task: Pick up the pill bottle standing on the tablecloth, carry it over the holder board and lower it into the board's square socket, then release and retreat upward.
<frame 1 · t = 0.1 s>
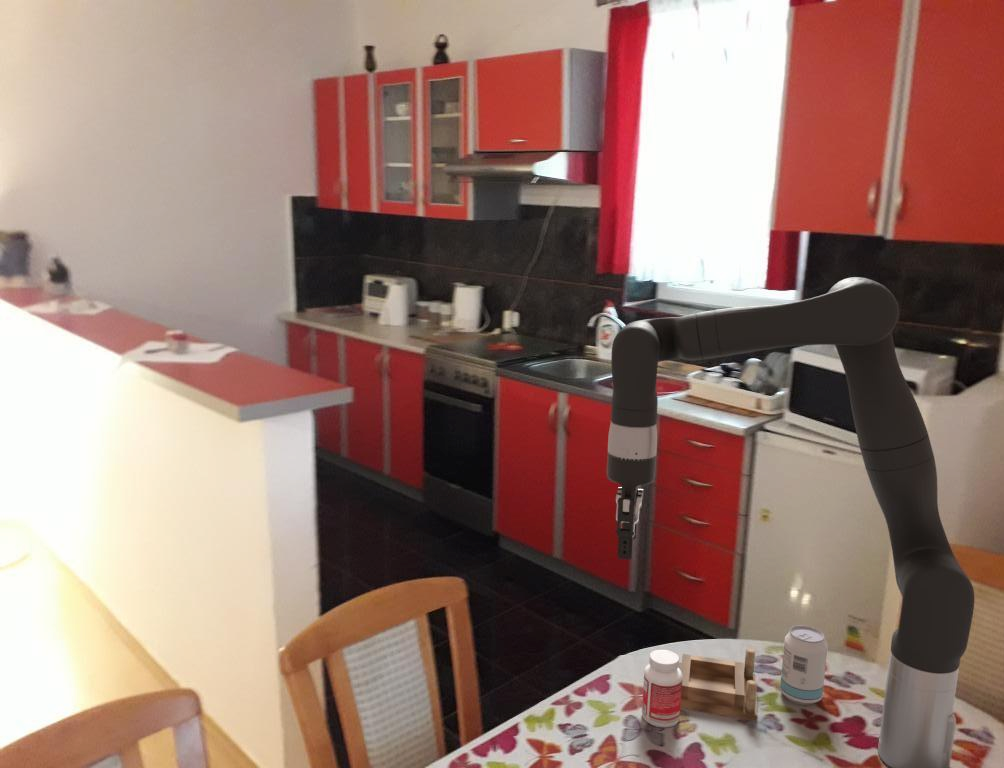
hand: (627, 547, 132), 29 cm above the table, fingers open, 8 cm apart
pill bottle: (660, 718, 136), on the table
beverage can: (800, 698, 143), on the table
holder: (710, 691, 144), on the table
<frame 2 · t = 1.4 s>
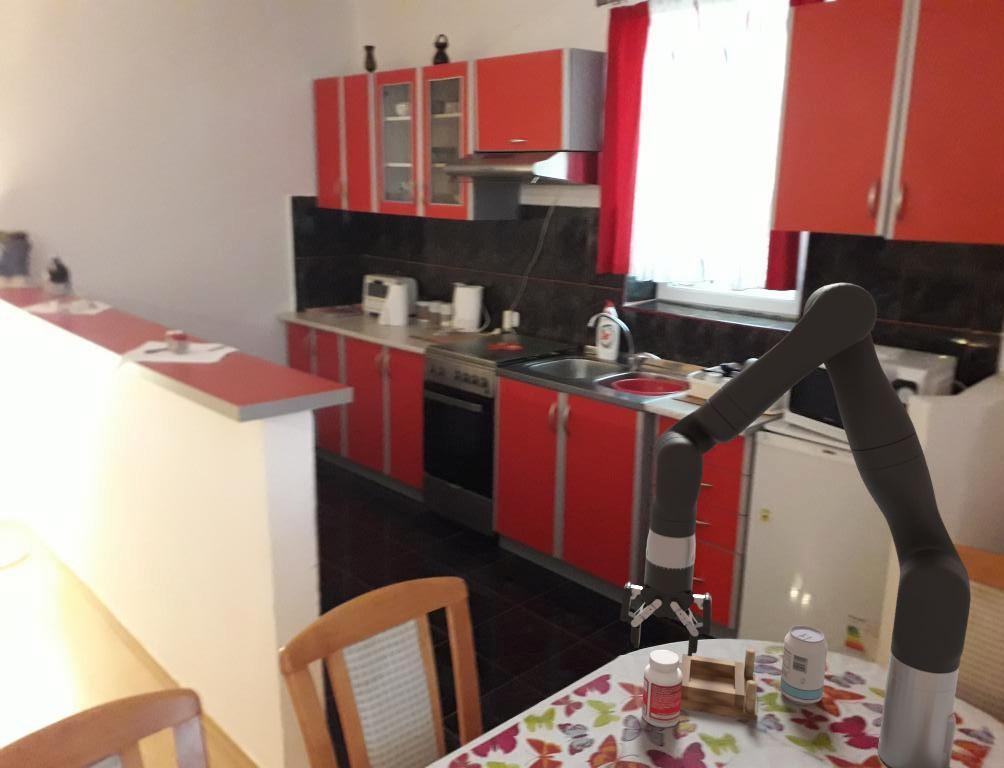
hand: (663, 649, 134), 12 cm above the table, fingers open, 8 cm apart
nothing on the table moved.
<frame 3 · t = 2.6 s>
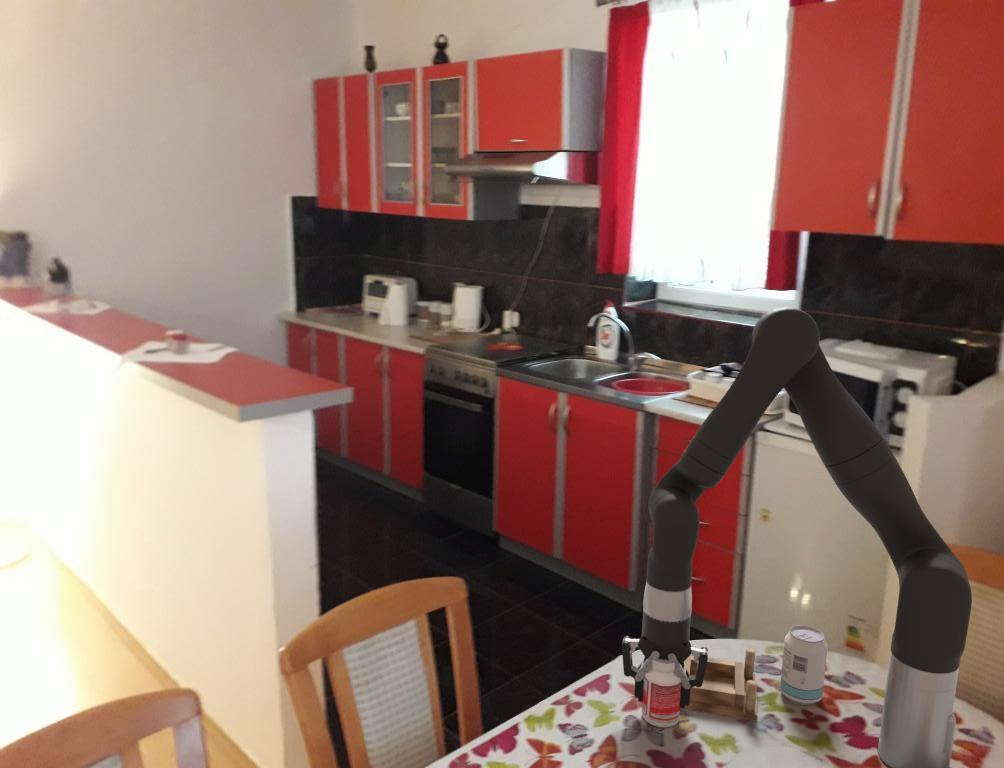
hand: (661, 702, 136), 3 cm above the table, fingers closed on pill bottle, 6 cm apart
pill bottle: (660, 718, 136), on the table, touching gripper
everything else where it was.
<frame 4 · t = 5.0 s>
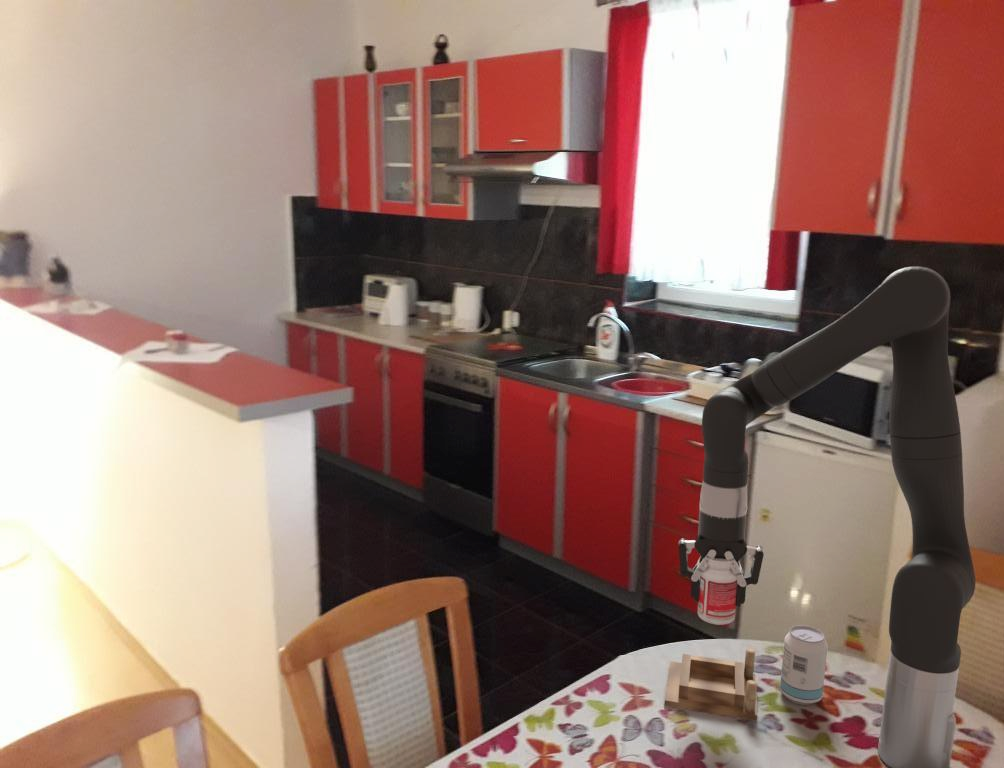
hand: (716, 602, 139), 17 cm above the table, fingers closed on pill bottle, 6 cm apart
pill bottle: (715, 618, 140), point 14 cm above the table, touching gripper
everything else where it was.
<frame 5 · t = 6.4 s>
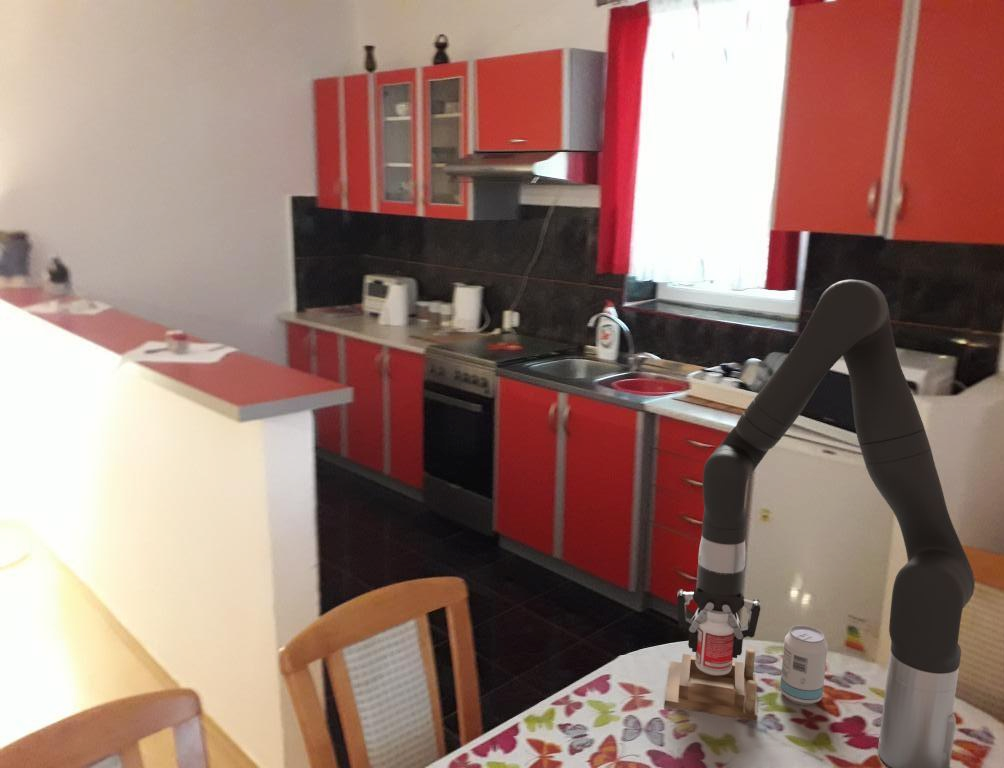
hand: (714, 652, 142), 8 cm above the table, fingers closed on pill bottle, 6 cm apart
pill bottle: (712, 668, 143), point 5 cm above the table, touching gripper
everything else where it was.
when the fingers open (5 cm above the table, at t = 7.4 s): pill bottle drops 1 cm, resting on holder.
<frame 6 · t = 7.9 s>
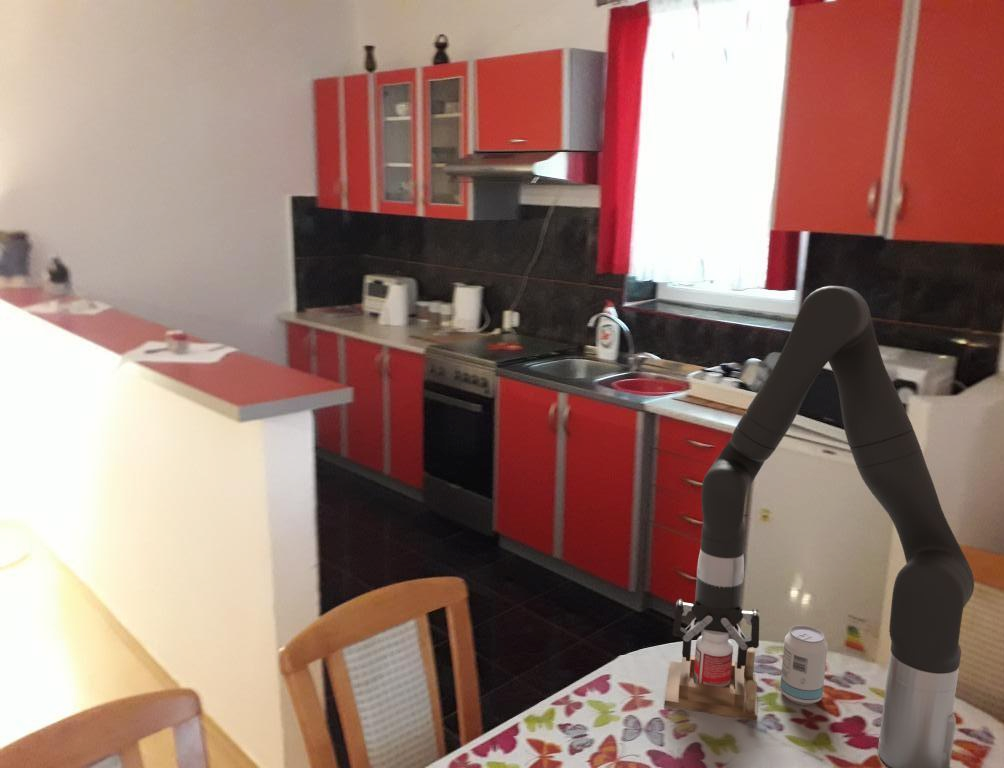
hand: (713, 662, 143), 6 cm above the table, fingers open, 8 cm apart
pill bottle: (711, 688, 143), point 1 cm above the table, touching holder
everything else where it was.
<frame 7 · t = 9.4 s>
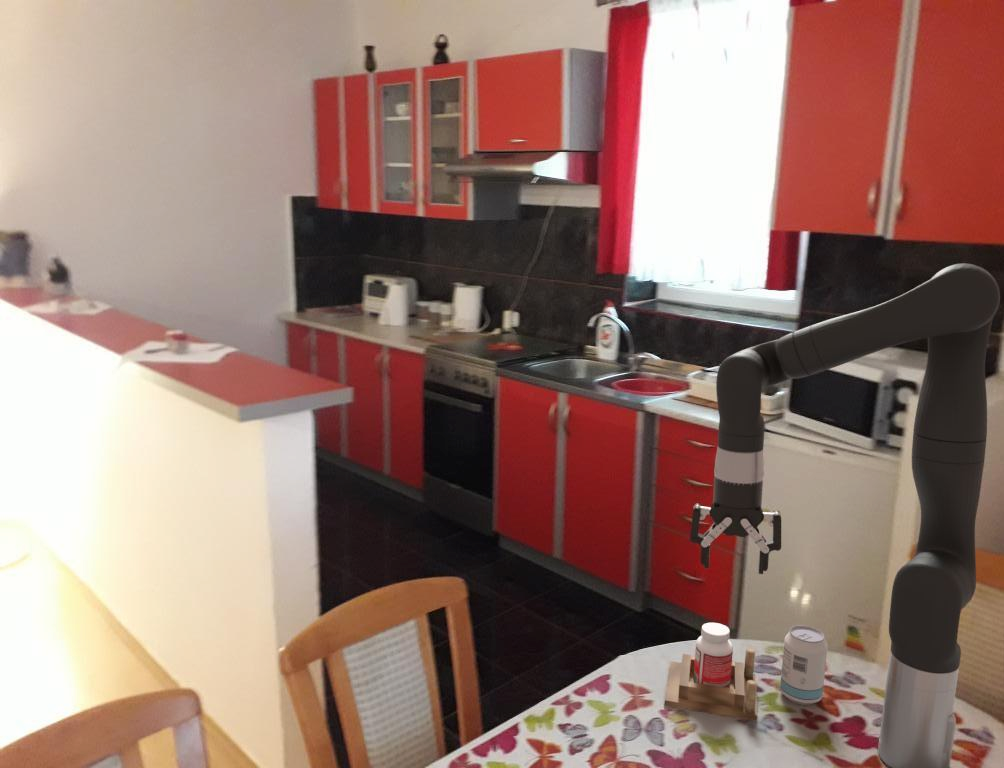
hand: (733, 569, 136), 24 cm above the table, fingers open, 8 cm apart
nothing on the table moved.
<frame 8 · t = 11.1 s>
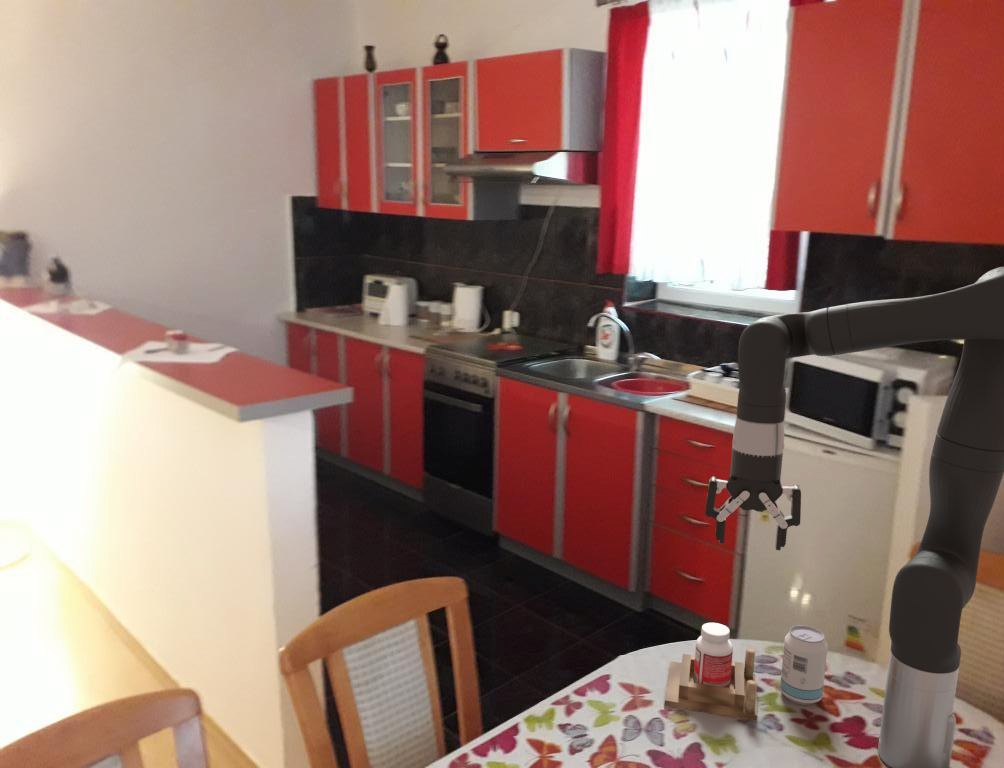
hand: (749, 545, 131), 30 cm above the table, fingers open, 8 cm apart
nothing on the table moved.
at the end: pill bottle 0.1 cm off-centre on the holder, point 0.8 cm above the holder's base; pill bottle tilted 0°; the gripper is holding nothing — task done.
